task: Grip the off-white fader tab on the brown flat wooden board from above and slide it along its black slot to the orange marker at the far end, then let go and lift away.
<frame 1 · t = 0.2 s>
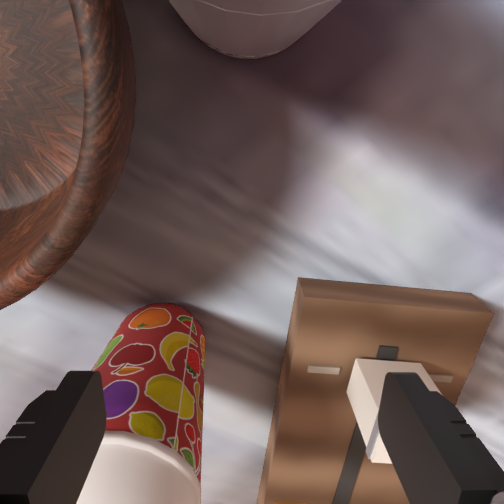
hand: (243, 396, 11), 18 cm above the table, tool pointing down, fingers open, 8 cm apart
brown flat wooden board: (347, 418, 35), on the table
fader tab: (398, 408, 26), point 7 cm above the table, slide at -8.0 cm
smoothie: (165, 330, 31), on the table
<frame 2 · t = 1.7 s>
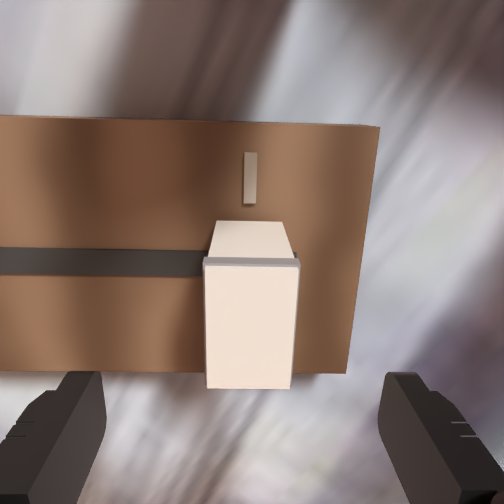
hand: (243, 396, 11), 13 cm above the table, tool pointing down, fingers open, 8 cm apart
brown flat wooden board: (113, 242, 22), on the table
fader tab: (249, 295, 16), point 7 cm above the table, slide at -8.0 cm
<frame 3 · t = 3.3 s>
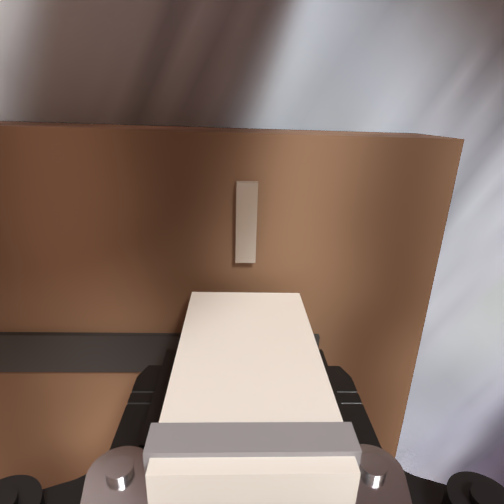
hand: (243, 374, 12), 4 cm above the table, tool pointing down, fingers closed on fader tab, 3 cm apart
brown flat wooden board: (42, 305, 15), on the table
fader tab: (246, 438, 9), point 7 cm above the table, slide at -8.0 cm, touching gripper
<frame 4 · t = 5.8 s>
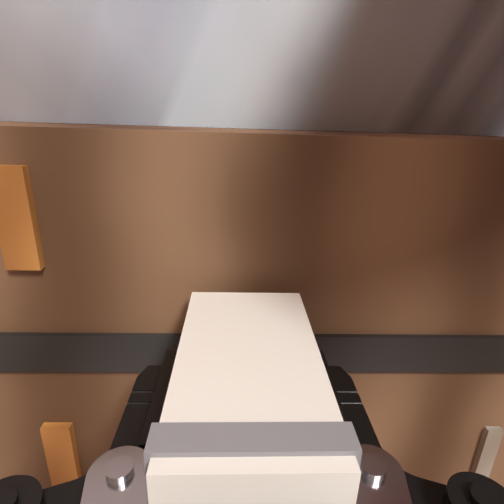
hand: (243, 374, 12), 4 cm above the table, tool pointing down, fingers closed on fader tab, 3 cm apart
brown flat wooden board: (278, 308, 16), on the table
fader tab: (246, 438, 9), point 7 cm above the table, slide at 1.5 cm, touching gripper
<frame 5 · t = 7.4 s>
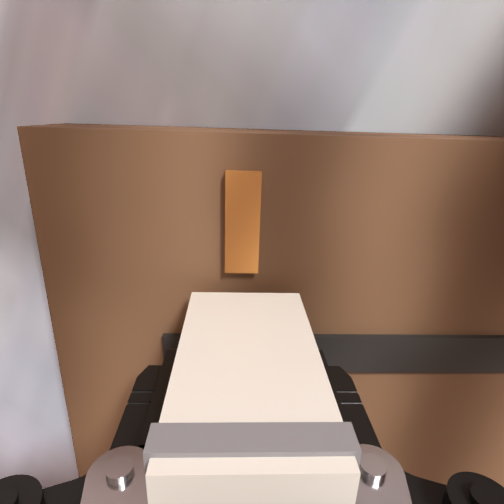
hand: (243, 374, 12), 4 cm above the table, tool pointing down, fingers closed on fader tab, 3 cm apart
brown flat wooden board: (429, 309, 16), on the table
fader tab: (245, 438, 9), point 7 cm above the table, slide at 7.9 cm, touching gripper
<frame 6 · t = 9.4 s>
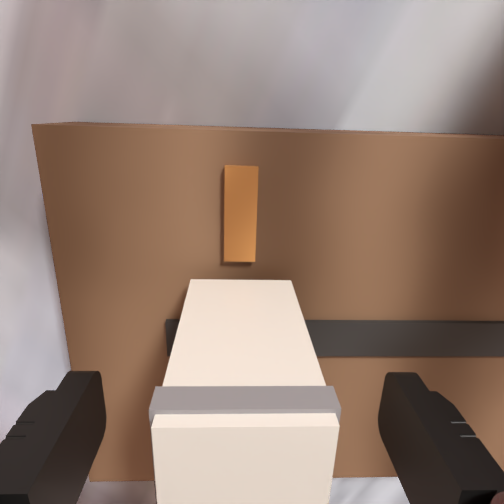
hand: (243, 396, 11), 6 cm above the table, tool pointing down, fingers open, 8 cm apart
brown flat wooden board: (418, 299, 17), on the table
fader tab: (240, 411, 10), point 7 cm above the table, slide at 7.9 cm
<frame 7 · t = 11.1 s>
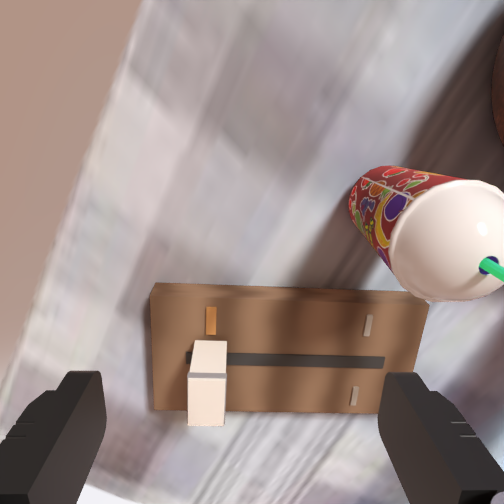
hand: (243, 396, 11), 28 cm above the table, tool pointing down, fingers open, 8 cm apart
brown flat wooden board: (282, 343, 43), on the table
fader tab: (208, 380, 36), point 7 cm above the table, slide at 7.9 cm
smoothie: (377, 198, 37), on the table
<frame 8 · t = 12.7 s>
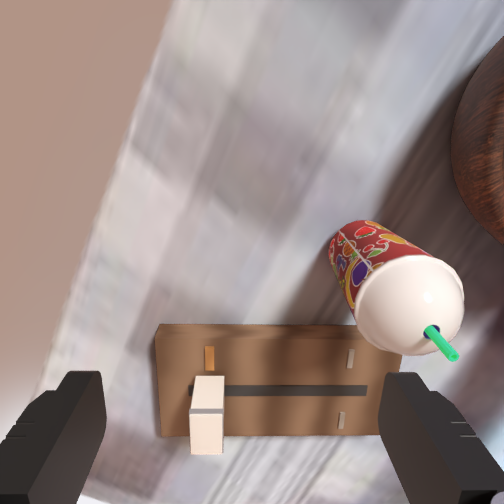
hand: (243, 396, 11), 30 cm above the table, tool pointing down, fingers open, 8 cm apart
brown flat wooden board: (275, 373, 47), on the table
fader tab: (208, 413, 41), point 7 cm above the table, slide at 7.9 cm
smoothie: (355, 245, 42), on the table
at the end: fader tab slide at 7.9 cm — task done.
